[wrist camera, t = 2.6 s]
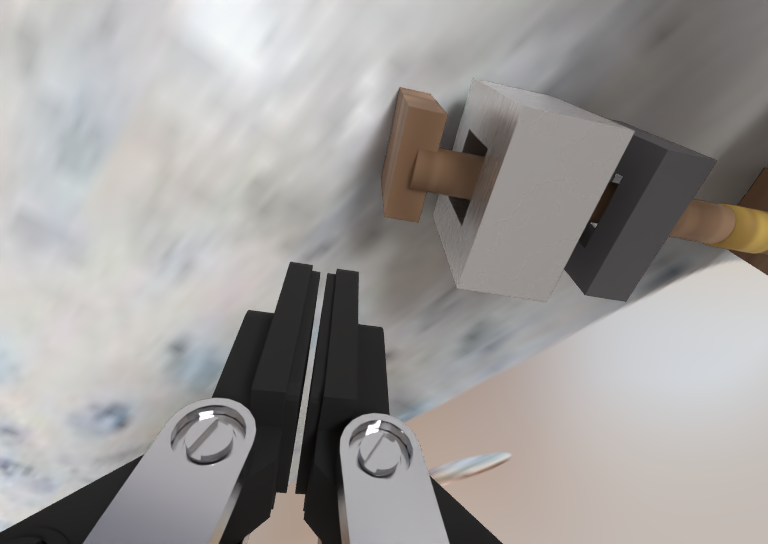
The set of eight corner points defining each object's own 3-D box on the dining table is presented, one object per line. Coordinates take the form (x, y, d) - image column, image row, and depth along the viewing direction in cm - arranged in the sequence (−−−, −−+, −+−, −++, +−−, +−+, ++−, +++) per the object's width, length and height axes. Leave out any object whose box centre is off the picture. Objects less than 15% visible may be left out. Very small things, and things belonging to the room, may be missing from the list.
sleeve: (432, 215, 28) (456, 288, 21) (473, 78, 24) (523, 106, 16) (499, 227, 29) (546, 301, 21) (551, 95, 24) (635, 131, 17)
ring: (533, 229, 29) (584, 295, 22) (585, 113, 24) (668, 149, 18) (565, 235, 29) (625, 301, 22) (621, 122, 25) (717, 160, 18)
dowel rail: (381, 178, 28) (384, 222, 22) (399, 87, 25) (410, 109, 19) (734, 244, 32) (821, 297, 26) (788, 172, 29) (902, 213, 23)
